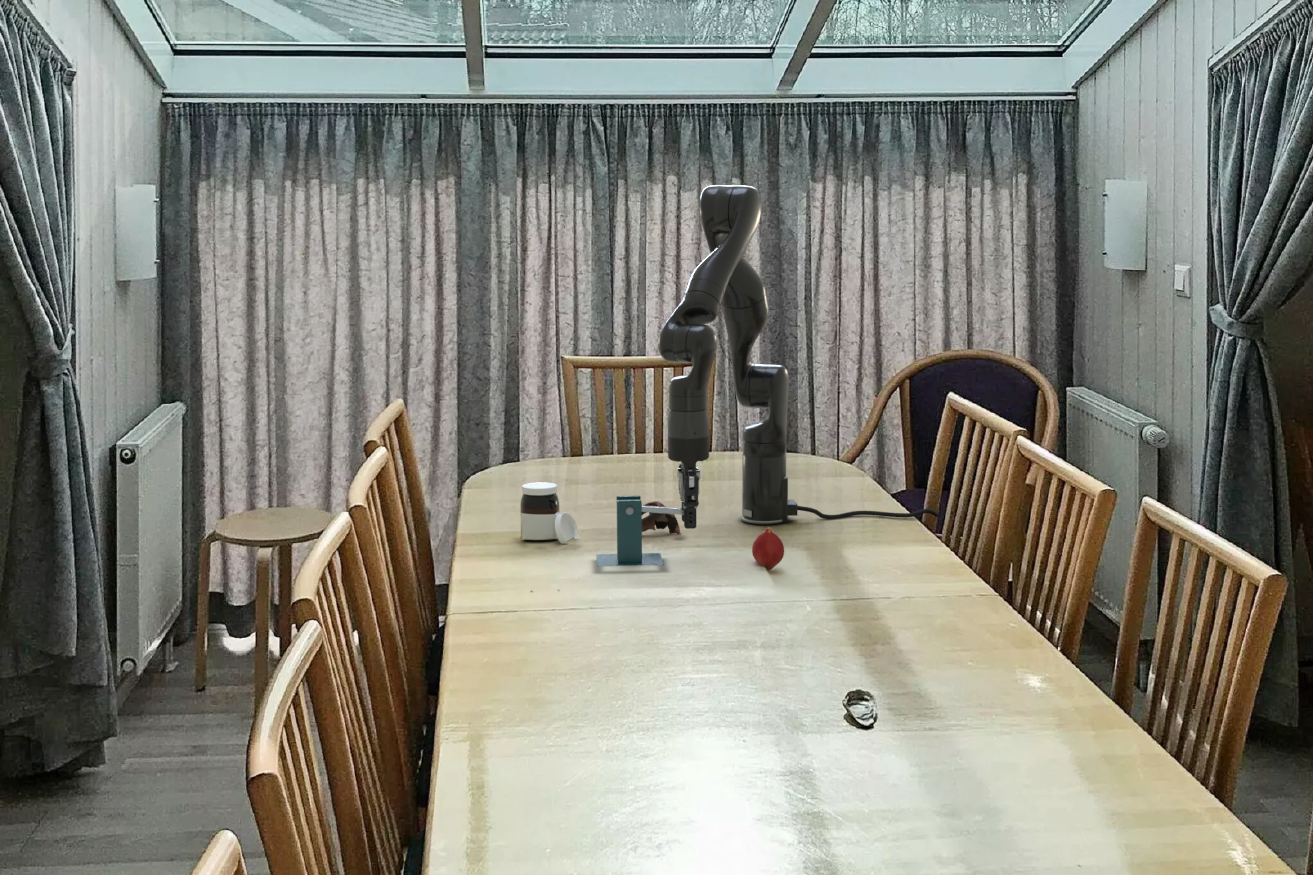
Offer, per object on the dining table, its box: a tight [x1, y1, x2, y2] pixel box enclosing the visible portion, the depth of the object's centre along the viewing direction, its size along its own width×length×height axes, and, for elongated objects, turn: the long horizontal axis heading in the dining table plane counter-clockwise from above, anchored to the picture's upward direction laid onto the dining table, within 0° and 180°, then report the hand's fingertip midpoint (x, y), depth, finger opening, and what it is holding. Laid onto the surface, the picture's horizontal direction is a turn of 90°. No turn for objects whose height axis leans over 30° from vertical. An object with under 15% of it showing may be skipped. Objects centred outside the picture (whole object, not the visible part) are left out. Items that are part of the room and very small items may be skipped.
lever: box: [642, 505, 684, 516], centre depth 254 cm, size 13×5×2 cm, turn 94°
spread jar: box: [519, 481, 579, 545], centre depth 272 cm, size 12×11×12 cm
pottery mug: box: [642, 500, 682, 536], centre depth 279 cm, size 12×10×8 cm
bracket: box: [596, 494, 664, 567], centre depth 254 cm, size 12×9×13 cm
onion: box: [751, 527, 785, 571], centre depth 251 cm, size 6×6×8 cm
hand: (689, 524), depth 254 cm, fingers closed on lever, 5 cm apart
